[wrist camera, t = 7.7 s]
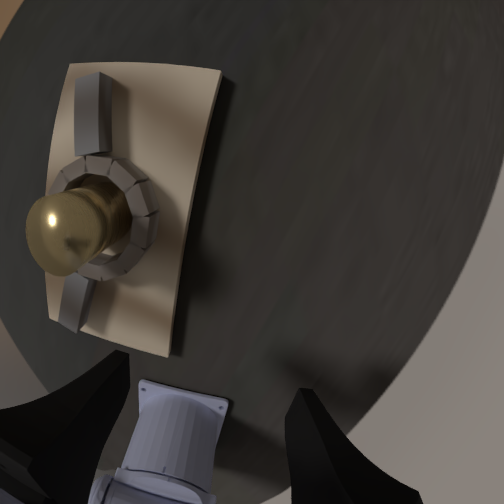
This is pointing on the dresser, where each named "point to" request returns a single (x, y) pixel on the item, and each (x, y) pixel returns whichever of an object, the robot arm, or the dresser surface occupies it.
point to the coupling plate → (174, 168)
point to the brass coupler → (76, 226)
